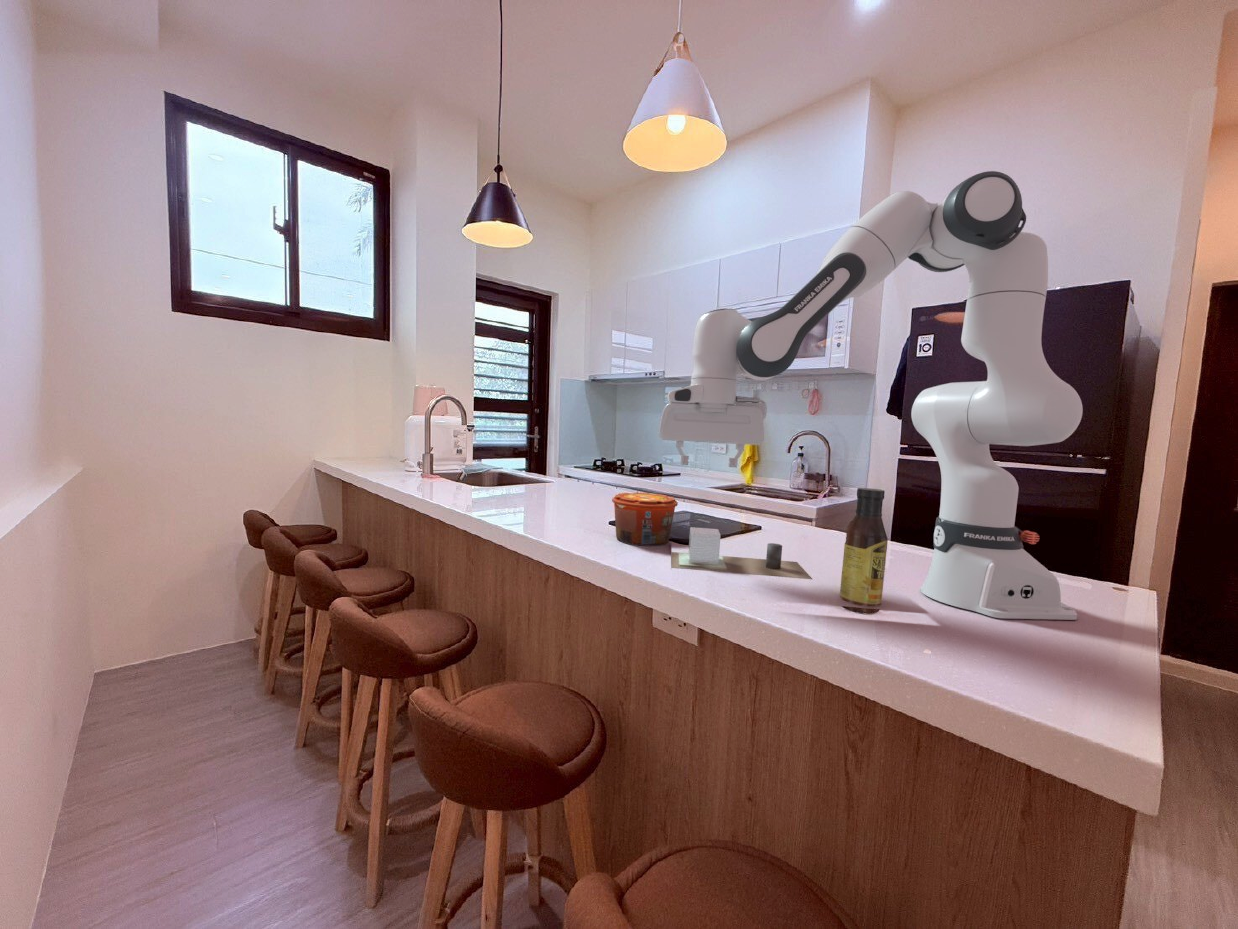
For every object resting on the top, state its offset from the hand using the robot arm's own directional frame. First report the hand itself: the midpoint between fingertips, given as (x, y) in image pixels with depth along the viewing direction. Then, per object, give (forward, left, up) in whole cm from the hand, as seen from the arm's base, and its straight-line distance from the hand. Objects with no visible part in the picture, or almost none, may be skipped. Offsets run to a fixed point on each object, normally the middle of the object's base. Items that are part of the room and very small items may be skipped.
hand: (708, 465), depth 102 cm
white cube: (0, 0, -19) cm, 19 cm away
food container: (+13, -22, -21) cm, 33 cm away
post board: (-7, 0, -21) cm, 22 cm away
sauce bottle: (-25, +16, -21) cm, 36 cm away
